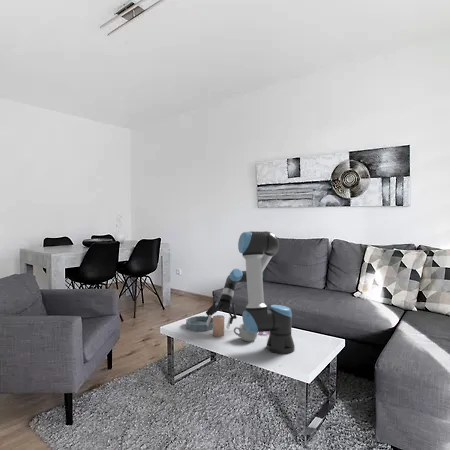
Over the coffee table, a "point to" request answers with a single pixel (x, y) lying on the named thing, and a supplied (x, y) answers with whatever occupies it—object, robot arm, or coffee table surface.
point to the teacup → (245, 333)
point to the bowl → (199, 323)
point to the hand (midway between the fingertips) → (217, 326)
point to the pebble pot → (218, 326)
